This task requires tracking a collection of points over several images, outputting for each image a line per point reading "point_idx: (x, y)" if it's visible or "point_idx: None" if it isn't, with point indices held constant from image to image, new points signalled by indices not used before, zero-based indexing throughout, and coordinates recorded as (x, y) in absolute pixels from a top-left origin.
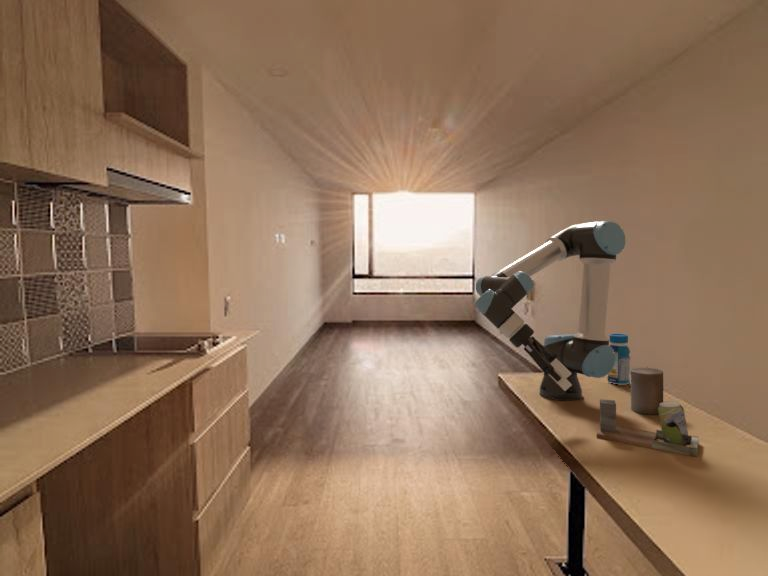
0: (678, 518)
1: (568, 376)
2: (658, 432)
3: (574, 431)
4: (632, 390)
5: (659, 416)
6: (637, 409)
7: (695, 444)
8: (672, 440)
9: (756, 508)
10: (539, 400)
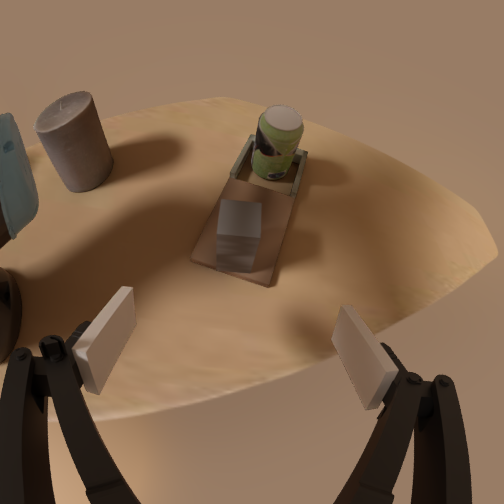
0: (459, 235)
1: (133, 305)
2: (235, 173)
3: (238, 333)
4: (70, 162)
5: (280, 149)
6: (95, 181)
7: None
8: (289, 166)
9: (408, 167)
10: None
